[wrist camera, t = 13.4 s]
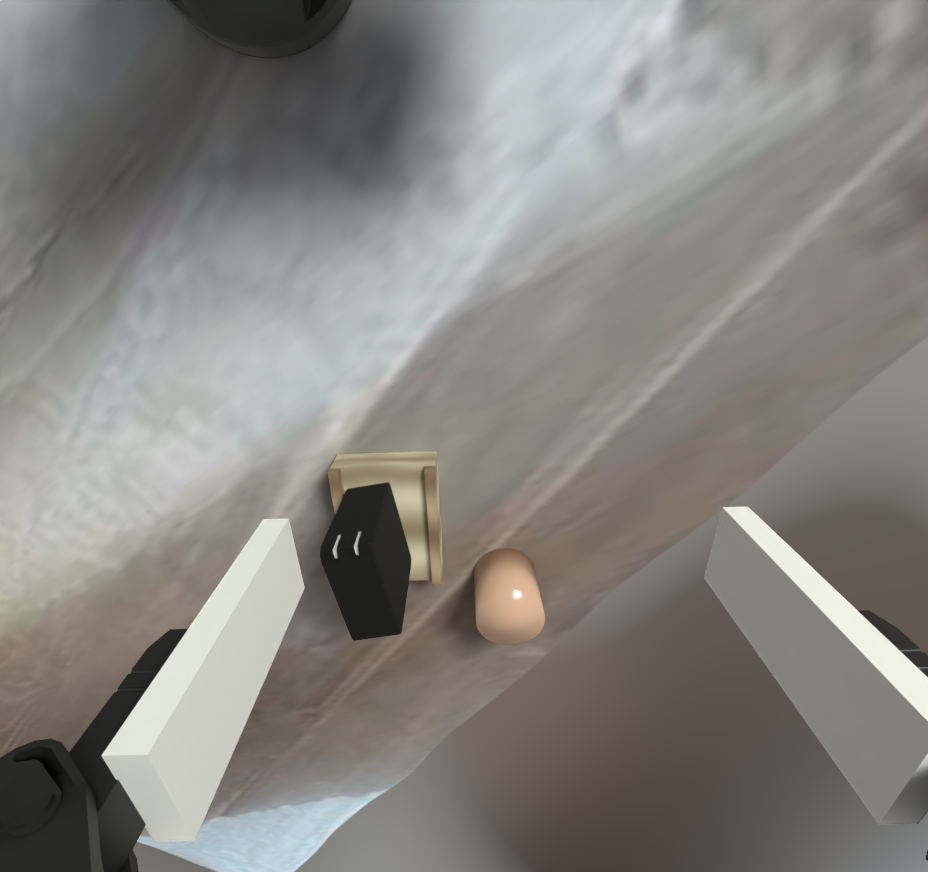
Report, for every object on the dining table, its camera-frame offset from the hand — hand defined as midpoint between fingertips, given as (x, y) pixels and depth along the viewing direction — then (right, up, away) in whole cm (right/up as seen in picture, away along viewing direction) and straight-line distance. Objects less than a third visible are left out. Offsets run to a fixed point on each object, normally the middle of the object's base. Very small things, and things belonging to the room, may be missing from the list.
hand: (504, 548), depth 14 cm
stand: (-9, -5, +34) cm, 35 cm away
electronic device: (-10, -5, +31) cm, 33 cm away
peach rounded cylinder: (+3, -12, +37) cm, 40 cm away
